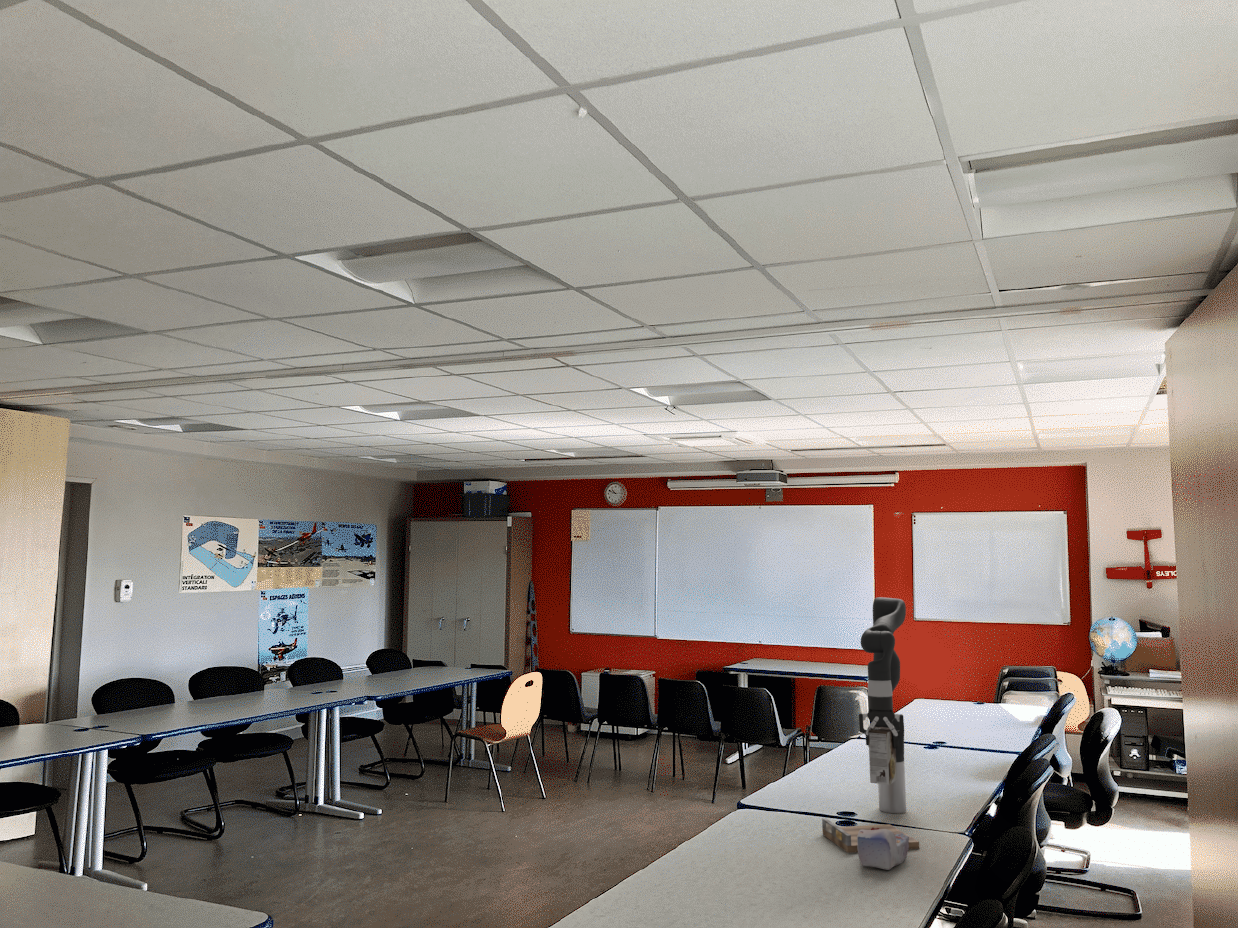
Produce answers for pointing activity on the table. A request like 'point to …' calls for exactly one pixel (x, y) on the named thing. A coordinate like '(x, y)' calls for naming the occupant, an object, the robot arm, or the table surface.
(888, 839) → the cell model
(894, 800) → the robot arm
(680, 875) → the table surface
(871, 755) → the coffee box
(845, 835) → the shelf board
